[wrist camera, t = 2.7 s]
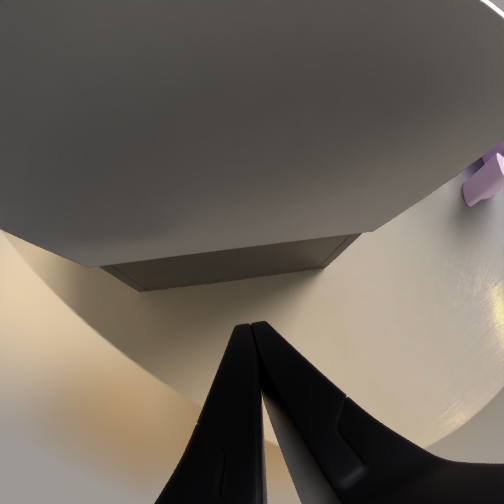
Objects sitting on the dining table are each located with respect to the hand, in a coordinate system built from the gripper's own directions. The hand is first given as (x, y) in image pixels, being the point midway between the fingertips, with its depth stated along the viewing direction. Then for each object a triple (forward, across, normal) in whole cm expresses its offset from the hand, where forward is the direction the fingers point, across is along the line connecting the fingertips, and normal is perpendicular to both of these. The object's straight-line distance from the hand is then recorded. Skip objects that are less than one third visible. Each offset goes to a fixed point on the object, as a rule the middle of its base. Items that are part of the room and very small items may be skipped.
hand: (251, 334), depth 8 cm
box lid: (+2, 0, -4) cm, 5 cm away
